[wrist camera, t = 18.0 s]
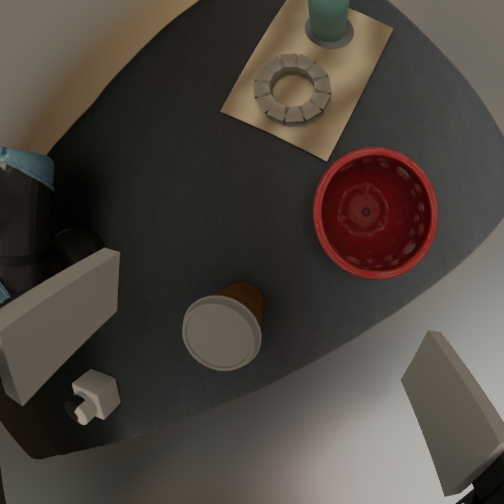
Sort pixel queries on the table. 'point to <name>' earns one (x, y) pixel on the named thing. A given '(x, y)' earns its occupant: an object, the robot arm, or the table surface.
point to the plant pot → (375, 213)
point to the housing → (306, 78)
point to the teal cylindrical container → (328, 18)
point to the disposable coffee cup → (225, 327)
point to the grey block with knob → (92, 397)
